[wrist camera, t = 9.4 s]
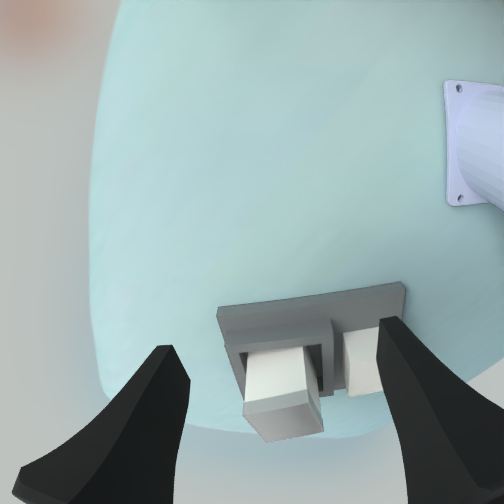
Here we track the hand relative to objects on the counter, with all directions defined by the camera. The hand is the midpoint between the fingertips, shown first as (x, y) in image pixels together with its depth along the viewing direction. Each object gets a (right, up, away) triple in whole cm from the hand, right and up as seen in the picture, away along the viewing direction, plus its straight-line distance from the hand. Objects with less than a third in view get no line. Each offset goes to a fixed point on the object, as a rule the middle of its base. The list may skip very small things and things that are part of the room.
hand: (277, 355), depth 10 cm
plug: (+1, -4, +13) cm, 13 cm away
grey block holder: (+4, -4, +13) cm, 14 cm away
